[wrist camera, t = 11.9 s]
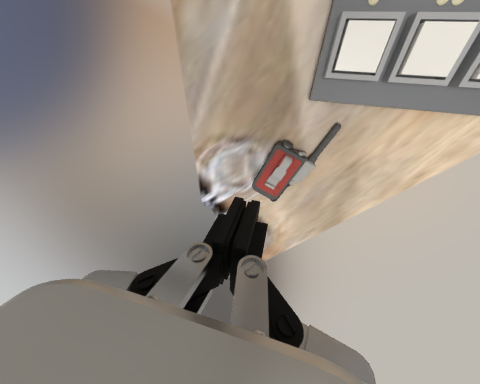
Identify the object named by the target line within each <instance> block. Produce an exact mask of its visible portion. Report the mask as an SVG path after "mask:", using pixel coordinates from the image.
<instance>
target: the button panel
mask: <svg viewBox="0 0 480 384" xmlns="http://www.w3.org/2000/svg"><path fill="white" fill-rule="evenodd" d="M349 20H367V21H395V24H394V26H393V29H392V31H391V34H390V36H389V39H388V41H387V44H386V47H385V49H384V52H383V54H382V57H381V59H380V62H379V64H378V67H377V69H376V72H375V73H357V72H341V71H332V70H333V66H334V63H335V59H336V56H337V52H338V49H339V45H340V42H341V38H342V34H343V31H344V27H345V24H346V23H347V22H348V21H349ZM425 21H444V22H478V24H477V26H476V27H475V29H474V31H473V33H472V34H471V36H470V38H469V40H468V41H467V43H466V45H465V46H464V48H463V50H462V52H461V53H460V55H459V57H458V59H457V60H456V62H455V64H454V65H453V67H452V69H451V71H450V72H449V74H448V76H447V77H422V76H406V75H396V74H397V72H398V69H399V67H400V65H401V63H402V60H403V58H404V56H405V54H406V52H407V49H408V47H409V45H410V43H411V40H412V38H413V36H414V34H415V31H416V29H417V27H418V25H419V24H421V23H423V22H425ZM479 63H480V0H333V3H332V7H331V11H330V15H329V19H328V24H327V28H326V32H325V36H324V40H323V44H322V48H321V53H320V57H319V61H318V65H317V69H316V73H315V77H314V81H313V86H312V90H311V94H310V98H309V99H310V100H314V101H325V102H336V103H347V104H358V105H369V106H380V107H391V108H402V109H413V110H424V111H436V112H447V113H458V114H469V115H480V80H472V79H469V78H470V77H471V75H472V74H473V72H474V71H475V69H476V67H477V66H478V64H479Z"/></svg>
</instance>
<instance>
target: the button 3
mask: <svg viewBox="0 0 480 384" xmlns="http://www.w3.org/2000/svg"><path fill="white" fill-rule="evenodd" d="M469 79H472V80H480V63H479V64H478V66H477V67H476V69H475V71H474V72H473V74H472V75H471V77H470V78H469Z"/></svg>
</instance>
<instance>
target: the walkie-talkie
mask: <svg viewBox="0 0 480 384" xmlns="http://www.w3.org/2000/svg"><path fill="white" fill-rule="evenodd" d="M340 128H341V125H340V124H336V125H335V126H334V127H333V129H332V130H331V131H330V133H329V134H328V135H327V136H326V138H325V139H324V140H323V142H322V143H321V144H320V146H319V147H318V148H317V149H316V151H315V152H314V153H313V155H311V156H310V157H309V159H307V158H305V156H306V152H304V151H303V152H301V151H300V152H299V151H297V150H295V149H293V144H291V143H290V142H288V141H286V140H285V141H284V142H281V141H278V142H277V143H276V145H274V147H273V149H272V152H271V153H270V154H269V155H268V157H267V160H266V161H265V163H264V165H263V167H262V168H261V170H260V171H259V173H258V175H257V177H256V178H255V180H254V182H253V184H252V187H253V189H254V190H255V191H257V192H258V193H260V194H262V195H264V196H266V197H267V198H269V199H270V200H271V201H276V200H277V199H278V198H279V197H280V195H281V194H282V193H283V191H284V190H285V189H286V188H287V187H288V186H290V185H293V184H294V183H297V182H301V181H303V179H304V178H305V177H306V176H307V175H308V173H309V172H310V171H311V170H312V169H313V168H314V167H315V163H314V162H315V161H316V160H317V157H318V156H319V155H320V153H321V152H322V151H323V150H324V148H325V147H326V146H327V145H328V143H329V142H330V141H331V140H332V138H333V137H334V136H335V135H336V133H337V132H338V131H339V129H340Z"/></svg>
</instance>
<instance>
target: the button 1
mask: <svg viewBox="0 0 480 384" xmlns="http://www.w3.org/2000/svg"><path fill="white" fill-rule="evenodd" d="M394 24H395V21H367V20H349V21H348V22H347V23H346V24H345V27H344V31H343V34H342V38H341V42H340V45H339V49H338V52H337V56H336V59H335V63H334V66H333V70H332V71H341V72H357V73H375V72H376V69H377V67H378V64H379V62H380V59H381V57H382V54H383V52H384V49H385V47H386V44H387V41H388V39H389V36H390V34H391V31H392V29H393V26H394Z"/></svg>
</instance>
